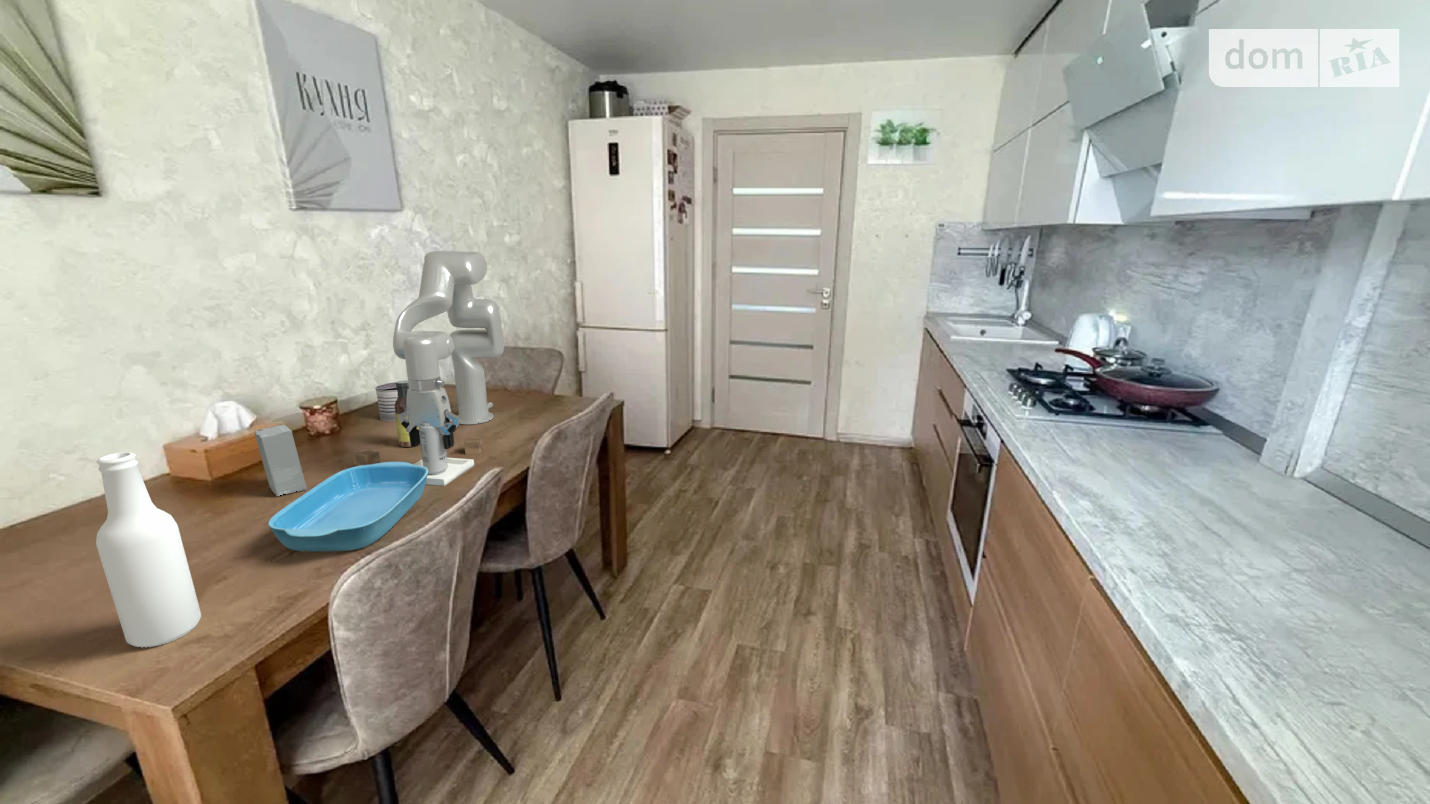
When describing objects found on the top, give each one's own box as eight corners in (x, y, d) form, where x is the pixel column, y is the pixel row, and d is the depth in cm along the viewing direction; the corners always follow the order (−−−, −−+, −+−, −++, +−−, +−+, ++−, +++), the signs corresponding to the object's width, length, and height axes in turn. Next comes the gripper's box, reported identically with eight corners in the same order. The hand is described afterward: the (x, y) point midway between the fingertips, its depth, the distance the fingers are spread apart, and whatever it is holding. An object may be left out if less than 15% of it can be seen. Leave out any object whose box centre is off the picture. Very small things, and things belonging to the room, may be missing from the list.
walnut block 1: (371, 466, 157) (368, 449, 156) (381, 468, 156) (378, 451, 154) (357, 471, 154) (354, 454, 152) (367, 473, 152) (365, 456, 151)
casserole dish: (370, 564, 111) (364, 531, 109) (250, 566, 109) (242, 533, 107) (444, 486, 146) (441, 460, 144) (354, 487, 144) (350, 461, 143)
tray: (428, 462, 161) (427, 456, 160) (474, 465, 159) (473, 459, 158) (394, 481, 147) (393, 475, 147) (444, 485, 145) (443, 479, 145)
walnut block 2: (468, 450, 171) (466, 437, 170) (482, 449, 171) (481, 436, 170) (465, 454, 167) (464, 442, 166) (479, 454, 168) (478, 441, 167)
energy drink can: (447, 474, 151) (442, 421, 147) (422, 476, 149) (416, 423, 145) (449, 465, 157) (444, 414, 153) (424, 467, 155) (419, 415, 150)
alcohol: (111, 645, 87) (53, 464, 79) (174, 610, 96) (128, 443, 87) (156, 654, 86) (102, 470, 77) (216, 618, 94) (173, 448, 86)
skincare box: (307, 490, 142) (296, 430, 137) (272, 498, 137) (259, 436, 132) (299, 480, 147) (288, 422, 143) (265, 488, 142) (252, 428, 138)
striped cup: (395, 423, 194) (391, 389, 191) (371, 418, 198) (366, 385, 194) (423, 414, 204) (419, 381, 201) (399, 410, 208) (395, 378, 205)
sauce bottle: (415, 448, 171) (406, 384, 165) (394, 447, 171) (385, 384, 165) (426, 441, 177) (418, 379, 172) (406, 440, 177) (398, 379, 172)
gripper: (464, 382, 149) (470, 443, 153) (404, 379, 151) (412, 439, 156) (447, 389, 142) (454, 453, 146) (384, 385, 144) (393, 448, 149)
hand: (432, 446), depth 151 cm, fingers open, 9 cm apart
